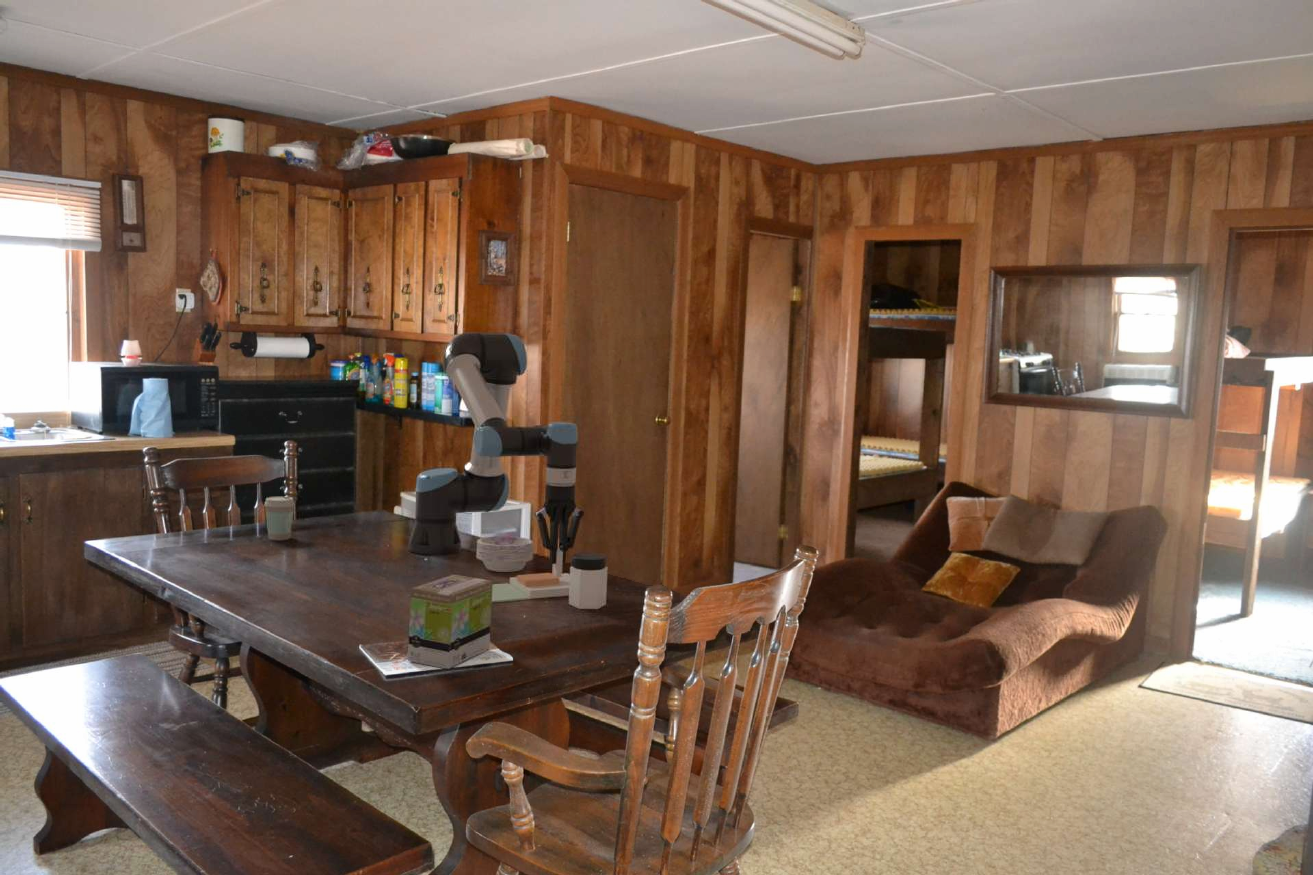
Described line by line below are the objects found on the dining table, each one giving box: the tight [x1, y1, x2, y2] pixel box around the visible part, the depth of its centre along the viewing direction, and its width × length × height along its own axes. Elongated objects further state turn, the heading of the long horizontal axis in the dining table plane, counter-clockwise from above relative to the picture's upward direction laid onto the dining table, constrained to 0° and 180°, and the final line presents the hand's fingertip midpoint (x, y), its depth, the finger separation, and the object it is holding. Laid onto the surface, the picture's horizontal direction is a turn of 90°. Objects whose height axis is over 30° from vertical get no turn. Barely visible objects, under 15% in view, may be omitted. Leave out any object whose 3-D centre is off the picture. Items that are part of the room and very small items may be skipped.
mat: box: [492, 582, 531, 604], centre depth 254 cm, size 15×15×1 cm
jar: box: [568, 552, 608, 610], centre depth 248 cm, size 9×8×12 cm
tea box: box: [407, 574, 493, 670], centre depth 205 cm, size 15×10×15 cm, turn 158°
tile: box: [516, 572, 559, 587], centre depth 259 cm, size 6×9×2 cm, turn 119°
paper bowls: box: [476, 535, 534, 573], centre depth 281 cm, size 15×15×8 cm
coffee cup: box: [263, 496, 296, 541], centre depth 304 cm, size 8×9×12 cm
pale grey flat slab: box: [509, 572, 570, 600], centre depth 261 cm, size 14×16×2 cm
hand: (557, 575), depth 262 cm, fingers closed
